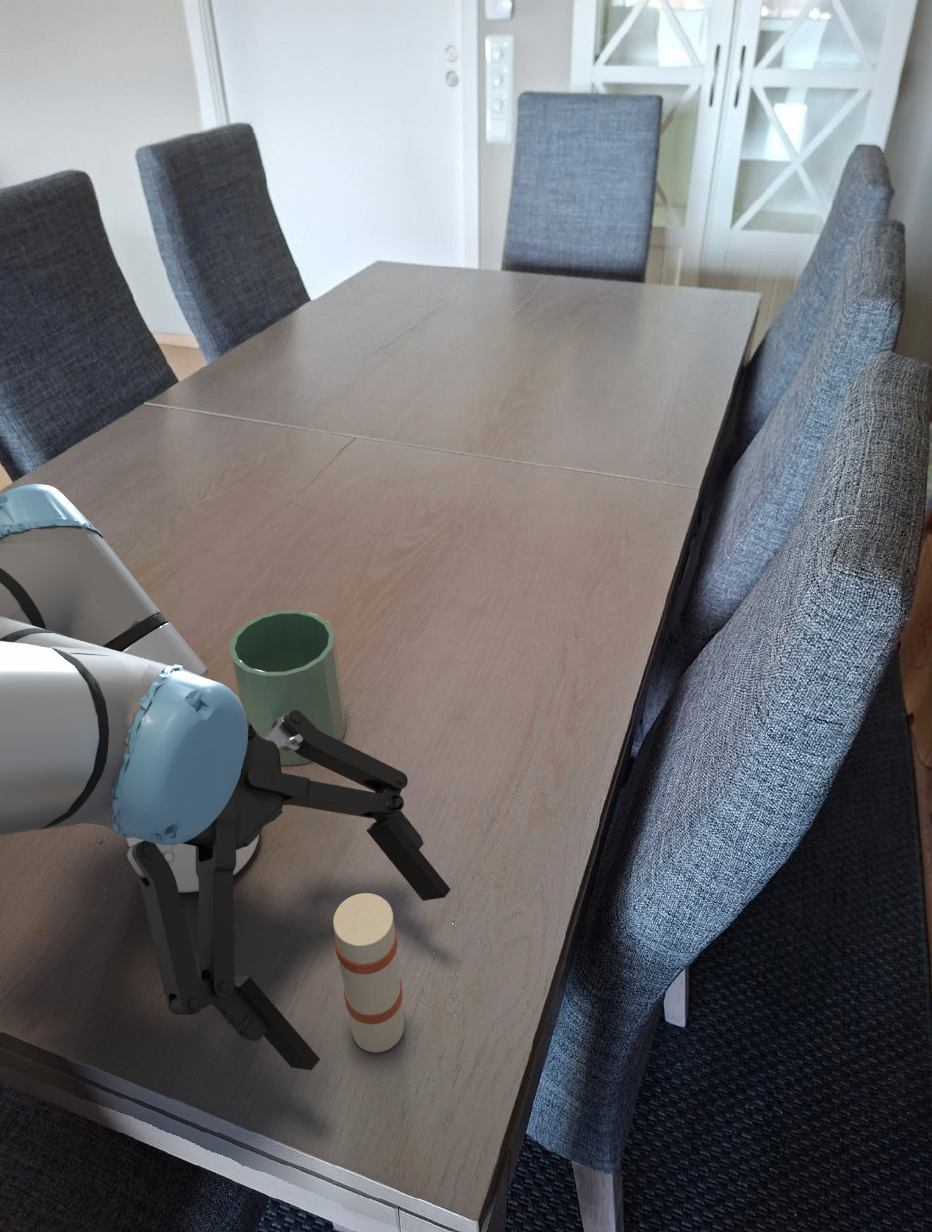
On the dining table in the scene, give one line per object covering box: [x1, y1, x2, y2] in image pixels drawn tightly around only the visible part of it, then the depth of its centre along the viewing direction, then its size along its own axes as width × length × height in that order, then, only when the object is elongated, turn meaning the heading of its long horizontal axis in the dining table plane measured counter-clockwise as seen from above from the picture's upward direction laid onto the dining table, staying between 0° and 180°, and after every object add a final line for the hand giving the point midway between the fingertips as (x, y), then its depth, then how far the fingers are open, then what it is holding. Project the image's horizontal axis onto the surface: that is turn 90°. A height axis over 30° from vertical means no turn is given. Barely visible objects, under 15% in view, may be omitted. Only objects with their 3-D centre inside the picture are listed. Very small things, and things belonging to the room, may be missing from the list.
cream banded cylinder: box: [332, 892, 405, 1054], centre depth 56 cm, size 4×4×13 cm
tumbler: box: [228, 609, 346, 766], centre depth 80 cm, size 9×9×11 cm
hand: (376, 973), depth 56 cm, fingers open, 13 cm apart
